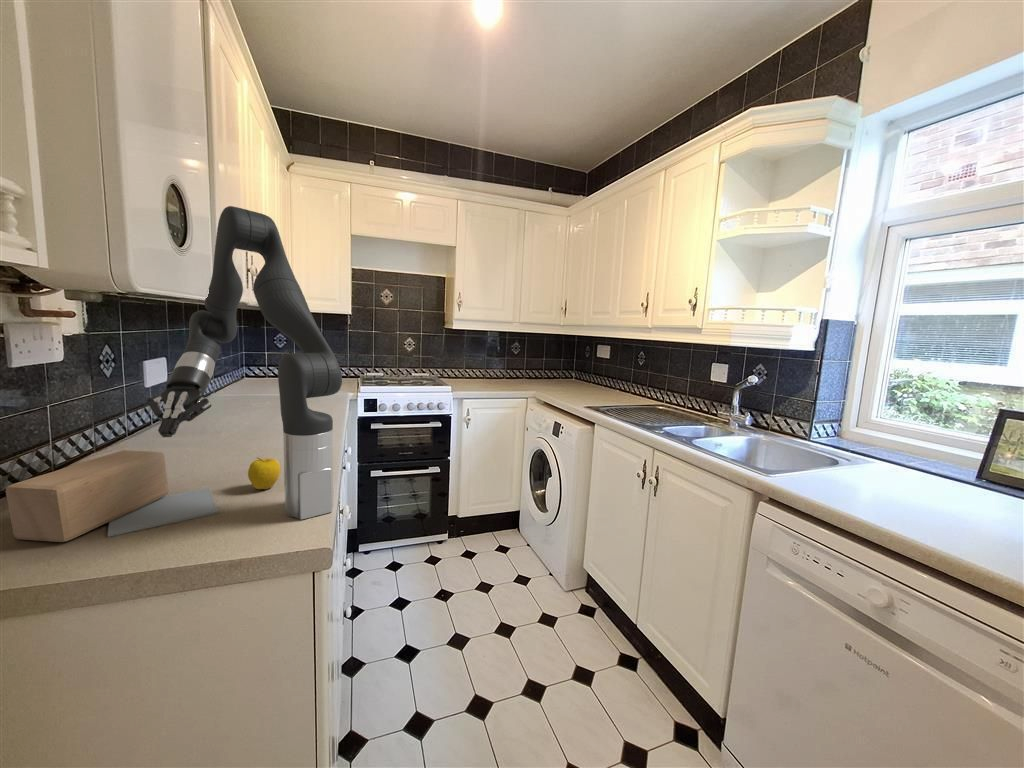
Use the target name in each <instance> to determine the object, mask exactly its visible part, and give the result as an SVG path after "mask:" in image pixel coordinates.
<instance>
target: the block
mask: <svg viewBox="0 0 1024 768" xmlns="http://www.w3.org/2000/svg"><path fill="white" fill-rule="evenodd" d="M167 474H168V473H167V466H166V458H165V454H164V453H163V452H162V451H144V450H143V451H142V450H127V449H126V450H124V449H122V450H119V451H116V452H113V453H108V454H106V455H103V456H99V457H96V458H92V459H90V460H86V461H83V462H80V463H77V464H74V465H70V466H67V467H64V468H61V469H58V470H55V471H54V470H53V471H52V472H47V473H43V474H42V475H37V476H34V477H31V478H28V479H25V480H22V481H19V482H15V483H12V484H10V485H8V486H6V489H5V496H6V500H7V501H6V502H7V506H8V512H9V516H10V517H9V519H10V522H11V523H10V524H11V527H12V534H13V537H15V539H17V540H22V541H23V540H27V541H36V542H37V541H40V542H55V543H65V542H68V541H71V540H73V539H75V538H77V537H79V536H81V535H84V534H86V533H88V532H90V531H92V530H95V529H97V528H98V527H100V526H101V527H102V526H103V525H105V524H109V522H110V521H112V520H114V519H116V518H118V517H121V516H123V515H125V514H127V513H129V512H131V511H133V510H136V509H138V508H140V507H142V506H144V505H146V504H149V503H151V502H153V501H155V500H157V499H159V498H162V497H164V496H166V495H169V494H168V493H169V483H168V475H167Z"/></svg>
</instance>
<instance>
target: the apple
mask: <svg viewBox="0 0 1024 768" xmlns="http://www.w3.org/2000/svg"><path fill="white" fill-rule="evenodd" d="M280 473H281V465H280V462H279V461H278V460H277V459H275V458H272V457H271V458H270V457H269V458H267V457H266V458H260V457H258V456H257V457H256V460H253V461H252V462H251V463H250V465H249V467H248V472H247V476H248V477H247V478H248V480H249V482H250V483H251V485H252V487H253V488H255V489H256V490H267V489H271V488H272V487H273V486H274V485H275V484H276V483H277V481H278V480H279V478H280V476H281V475H280Z"/></svg>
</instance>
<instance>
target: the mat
mask: <svg viewBox="0 0 1024 768" xmlns="http://www.w3.org/2000/svg"><path fill="white" fill-rule="evenodd" d="M214 514H219V510H218V507H217V505H216V503H215V500H214V498H213V495H212V492H211V490H210V488H209V487H205V488H201V489H195V490H189V491H184V492H179V493H178V492H177V493H173V494H167V495H166V496H164V497H162V498H159V499H157V500H155V501H153V502H151V503H149V504H146V505H144V506H142V507H140V508H138V509H136V510H133V511H131V512H129V513H127V514H125V515H123V516H121V517H118V518H116V519H114V520H112V521H110V522H108V529H107V538H109V537H114V536H115V537H116V536H120V535H124V534H128V533H129V534H130V533H133V532H136V531H142V530H147V529H151V528H157V527H161V526H164V525H170V524H174V523H178V522H183V521H187V520H191V519H192V520H193V519H198V518H202V517H207V516H212V515H214ZM197 517H198V518H197Z"/></svg>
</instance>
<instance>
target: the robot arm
mask: <svg viewBox="0 0 1024 768" xmlns="http://www.w3.org/2000/svg"><path fill="white" fill-rule="evenodd" d="M235 250H242V251H247V252H252V253H256V254H259V255H260V256H261V257H262V258H263V260H264V264H263V266H262V268H261V269H260V270H259V272H258V274H257V275H256V277H255V279H254V282H253V286H252V291H253V294H254V298H255V301H256V303H257V305H258V308H259V311H260V312H261V314H262V316H263V318H265V320H266V321H267V322H268V323H269V324H270V325H271V326H272V327H274V328H276V329H277V330H278V331H279V332H280V333H282V335H284V336H286V338H289V340H291V341H292V342H293V343H294V344H295V345H296V346H298V347H299V349H300V350H301V352H290V353H286V354H284V355H283V356H281V358H280V360H279V362H278V367H277V379H278V380H277V381H278V382H277V383H278V391H279V404H280V415H281V422H282V431H283V433H282V437H283V476H284V477H283V478H284V480H283V482H284V504H285V505H284V508H285V509H284V510H285V511H284V512H285V514H286V515H287V516H289V517H292V518H297V519H299V520H305V519H310V518H313V517H317V516H322V515H325V514H329V513H332V512H333V507H334V505H335V504H334V453H333V452H334V443H333V442H334V435H333V432H334V431H333V429H334V428H333V427H334V424H333V422H334V421H333V417H332V416H331V415H330V414H329V413H326V412H321V411H317V410H313V409H311V408H309V407H308V402H307V399H311V398H319V397H320V398H321V397H329V396H333V395H336V394H337V393H338V392H339V391H340V390H341V387H342V384H343V377H342V376H343V375H342V370H341V367H340V364H339V362H338V359H337V358H336V355H335V354H334V352H333V350H332V348H331V347H330V346H329V344H328V342H327V340H326V339H325V337H324V335H323V334H322V332H321V330H320V328H319V326H318V325H317V323H316V321H315V319H314V317H313V314H312V312H311V310H310V308H309V305H308V303H307V300H306V298H305V295H304V294H303V291H302V289H301V285H299V282H298V281H297V278H296V277H295V276H296V275H295V274H294V271H293V269H292V268H291V264H290V263H289V260H288V257H287V255H286V252H285V249H284V245H283V243H282V238H281V235H280V232H279V229H278V227H277V225H276V222H275V221H274V220H273V219H272V218H271V217H270V216H269V215H266V214H264V213H261V212H257V211H253V210H249V209H245V208H241V207H238V206H232V205H229V206H225V208H223V210H222V212H221V213H220V216H219V219H218V223H217V230H216V236H215V246H214V254H213V265H212V274H211V278H210V283H209V287H208V289H209V294H208V297H207V298H206V297H205V299H204V307H205V309H206V310H205V309H204V310H203V309H202V310H196V311H195V312H193V313H192V315H191V316H190V318H189V322H188V323H189V324H188V329H189V330H188V331H189V333H188V334H189V335H188V341H187V344H186V347H185V348H184V351H183V352H182V355H181V356H180V358H179V359H178V360H177V361H176V364H175V367H174V368H173V371H172V372H171V374H170V377H169V379H168V380H167V383H166V387H165V390H163V391H162V392H161V393H160V396H158V397H155V398H153V397H148V398H146V400H145V401H146V403H147V404H148V406H149V408H150V409H151V411H152V413H153V414H154V415H155V417H156V418H157V419H158V420H159V421H160V422H161V423H160V425H159V428H158V430H157V431H158V433H159V435H160V436H161V437H162V438H172V437H173V436H174V435H176V433H177V431H178V429H179V427H180V424H182V423H183V422H192V421H193V420H195V419H196V418H197V417H199V416H200V415H201V414H203V413H204V412H206V411H207V410H209V409H210V408H212V406H213V405H212V404H211V402H210V400H209V399H208V398H205V393H206V391H207V389H208V386H209V384H210V381H211V379H212V377H213V375H214V370H215V366H216V363H217V361H218V359H219V357H220V354H221V346H220V345H219V344H218V343H221V344H228V343H231V342H233V340H234V339H235V338H236V337H237V333H238V323H237V311H238V309H239V305H240V303H241V300H242V296H243V293H244V285H243V282H242V279H241V277H240V275H239V272H238V270H237V268H236V266H235V264H234V260H233V255H234V251H235ZM217 342H218V343H217ZM163 403H164V412H163V410H162V406H163Z"/></svg>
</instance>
